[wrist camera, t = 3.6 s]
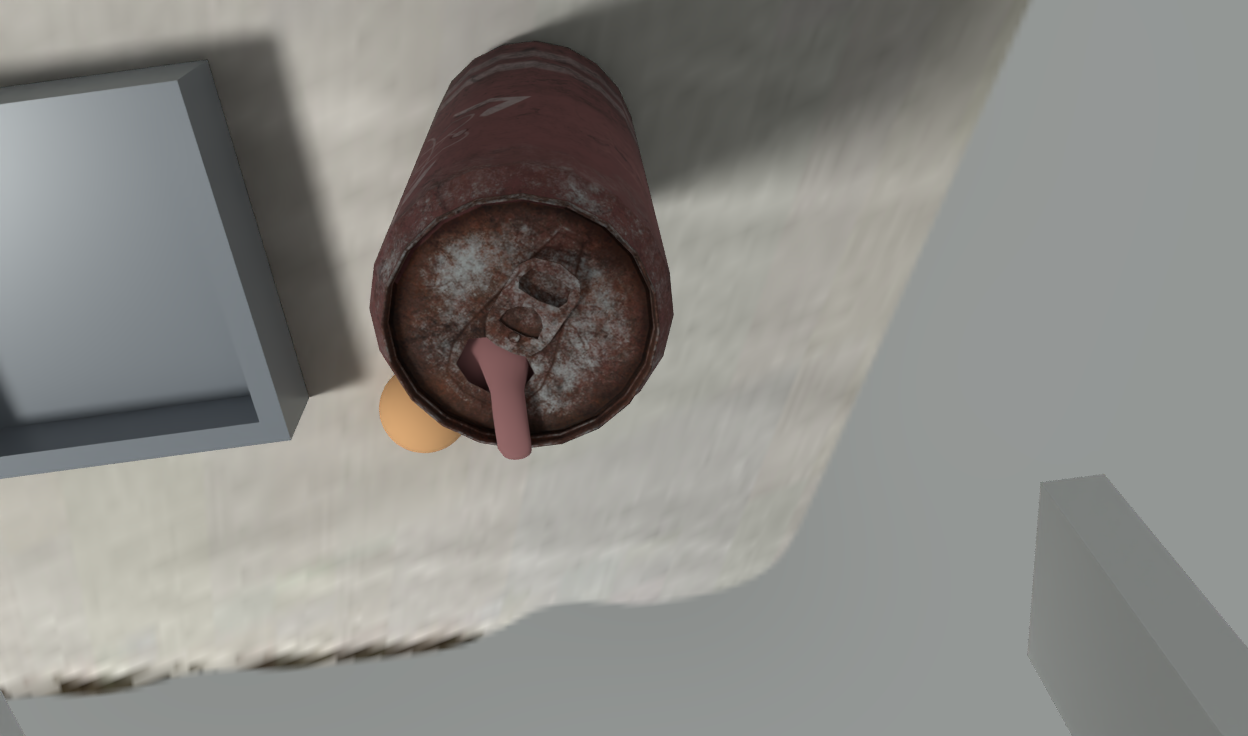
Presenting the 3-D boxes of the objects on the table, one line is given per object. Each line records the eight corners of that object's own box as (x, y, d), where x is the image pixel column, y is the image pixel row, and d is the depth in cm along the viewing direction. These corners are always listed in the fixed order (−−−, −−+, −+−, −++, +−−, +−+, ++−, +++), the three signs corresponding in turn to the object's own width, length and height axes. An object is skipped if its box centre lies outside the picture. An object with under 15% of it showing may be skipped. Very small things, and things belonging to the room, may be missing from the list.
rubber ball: (396, 429, 37) (384, 475, 35) (377, 354, 36) (362, 397, 33) (480, 417, 37) (474, 463, 35) (464, 342, 36) (457, 384, 33)
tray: (-21, 441, 37) (-63, 487, 34) (-179, 111, 31) (-243, 137, 29) (308, 397, 36) (290, 439, 34) (207, 59, 31) (177, 80, 29)
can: (455, 248, 34) (398, 491, 22) (420, 49, 31) (331, 199, 19) (640, 228, 34) (687, 460, 22) (622, 28, 31) (666, 164, 19)
